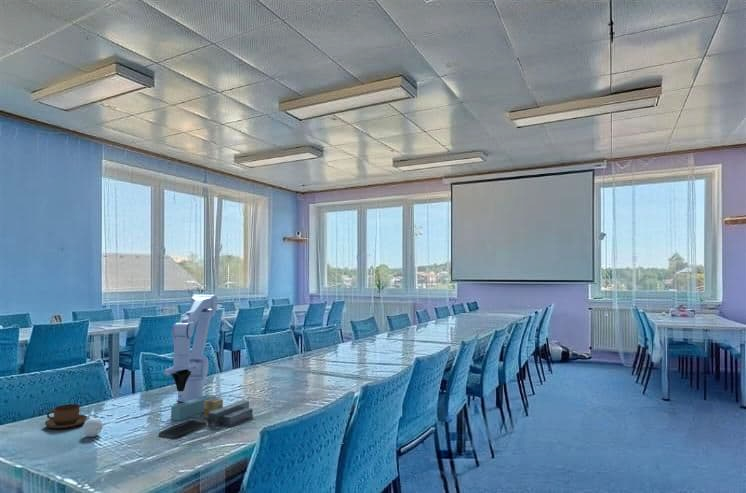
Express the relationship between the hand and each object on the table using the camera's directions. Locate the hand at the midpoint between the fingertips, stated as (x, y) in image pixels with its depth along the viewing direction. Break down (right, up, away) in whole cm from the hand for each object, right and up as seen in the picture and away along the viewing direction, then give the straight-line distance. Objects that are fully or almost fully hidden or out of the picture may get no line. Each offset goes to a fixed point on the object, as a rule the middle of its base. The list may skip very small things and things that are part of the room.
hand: (180, 390), depth 182 cm
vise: (+23, -7, -11) cm, 27 cm away
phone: (+10, -7, -22) cm, 25 cm away
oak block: (+15, -7, -7) cm, 18 cm away
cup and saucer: (-31, -6, -19) cm, 37 cm away
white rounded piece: (-16, -6, -28) cm, 33 cm away
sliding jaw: (+6, -7, -3) cm, 10 cm away
